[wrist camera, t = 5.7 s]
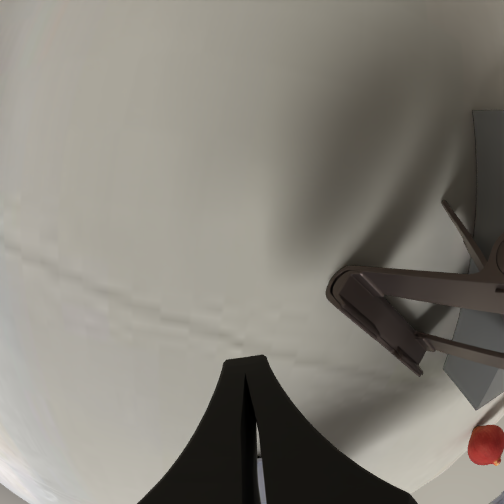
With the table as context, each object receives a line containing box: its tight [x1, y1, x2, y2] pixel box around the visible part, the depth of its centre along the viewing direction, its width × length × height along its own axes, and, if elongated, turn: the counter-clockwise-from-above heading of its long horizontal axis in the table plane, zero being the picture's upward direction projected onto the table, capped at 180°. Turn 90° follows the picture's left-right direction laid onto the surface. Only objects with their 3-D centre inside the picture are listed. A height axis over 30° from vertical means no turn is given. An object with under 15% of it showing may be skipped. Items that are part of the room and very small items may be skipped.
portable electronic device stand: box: [326, 200, 504, 377], centre depth 10 cm, size 9×8×8 cm
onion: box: [468, 425, 504, 466], centre depth 20 cm, size 6×6×8 cm
